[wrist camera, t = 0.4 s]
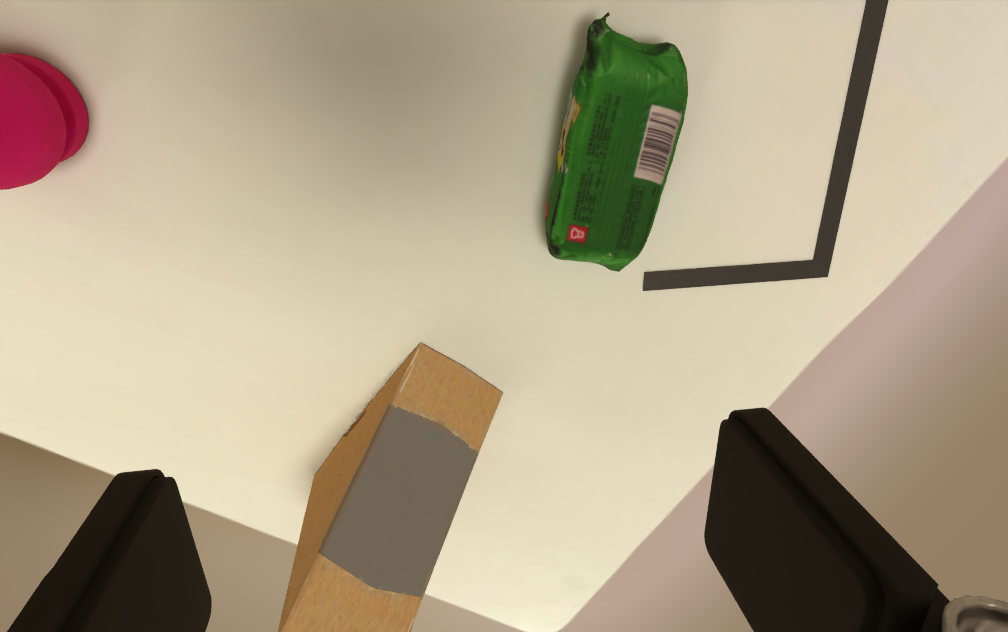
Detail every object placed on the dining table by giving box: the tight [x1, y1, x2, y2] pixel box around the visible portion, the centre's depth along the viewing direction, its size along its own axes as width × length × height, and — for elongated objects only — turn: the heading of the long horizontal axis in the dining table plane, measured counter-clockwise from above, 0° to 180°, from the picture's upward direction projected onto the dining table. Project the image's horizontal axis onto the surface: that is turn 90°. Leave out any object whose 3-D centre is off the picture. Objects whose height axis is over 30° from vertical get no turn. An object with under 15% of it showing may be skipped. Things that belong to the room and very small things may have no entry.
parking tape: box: [643, 0, 888, 291], centre depth 44 cm, size 22×15×1 cm
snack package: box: [545, 12, 688, 271], centre depth 40 cm, size 7×16×5 cm, turn 170°
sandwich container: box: [278, 343, 503, 632], centre depth 43 cm, size 9×15×15 cm, turn 141°
